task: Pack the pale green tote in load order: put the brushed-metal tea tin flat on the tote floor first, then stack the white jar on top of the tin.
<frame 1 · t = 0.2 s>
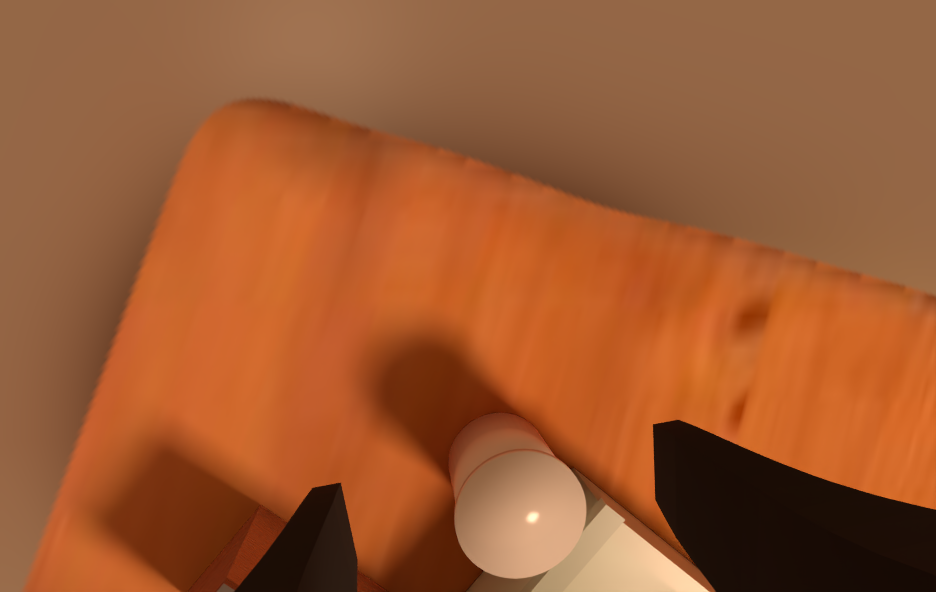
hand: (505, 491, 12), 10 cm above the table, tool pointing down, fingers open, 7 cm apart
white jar: (497, 460, 23), on the table
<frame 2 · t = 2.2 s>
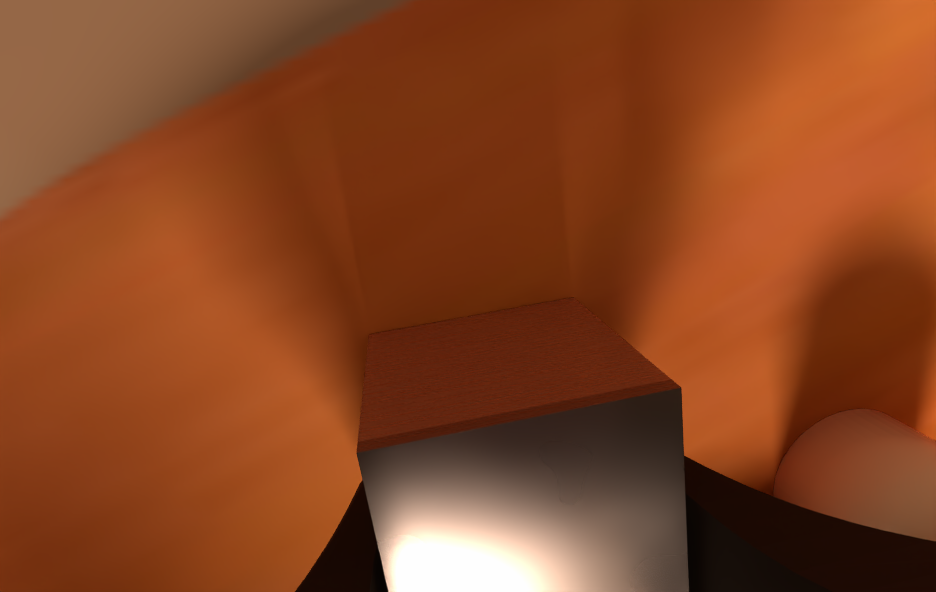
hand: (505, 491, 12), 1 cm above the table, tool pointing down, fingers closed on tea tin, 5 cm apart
tea tin: (494, 456, 14), on the table, touching gripper
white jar: (842, 476, 16), on the table
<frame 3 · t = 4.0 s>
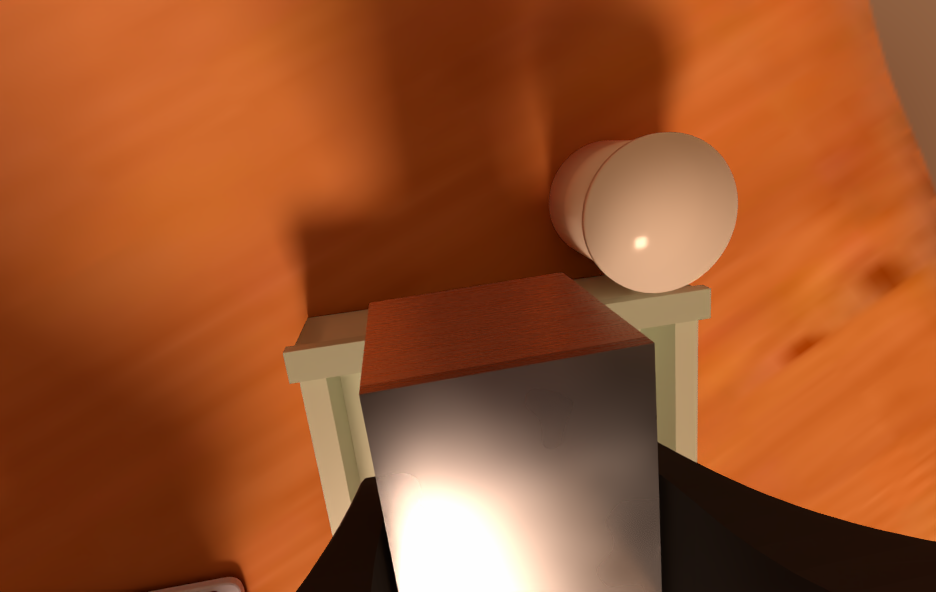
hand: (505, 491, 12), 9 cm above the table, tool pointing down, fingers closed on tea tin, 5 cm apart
tote: (501, 435, 22), on the table
tea tin: (485, 422, 15), point 6 cm above the table, touching gripper
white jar: (604, 200, 20), on the table
when the fingers open (3 cm above the table, at t = 5.9 s): tea tin stays where it is, resting on tote.
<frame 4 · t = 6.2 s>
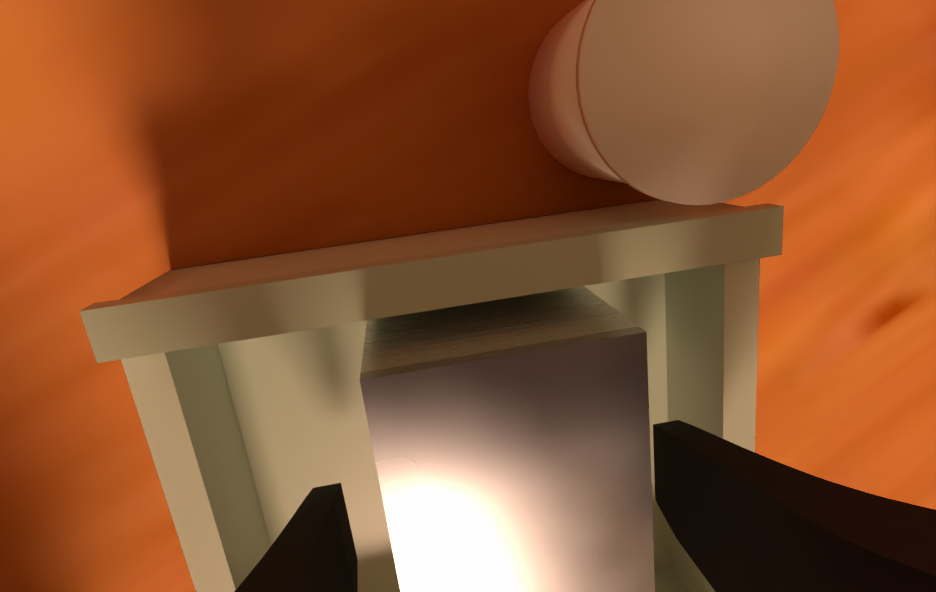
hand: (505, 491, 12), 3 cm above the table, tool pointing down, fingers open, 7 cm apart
tote: (467, 441, 16), on the table
tea tin: (483, 415, 15), resting on tote
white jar: (611, 91, 14), on the table
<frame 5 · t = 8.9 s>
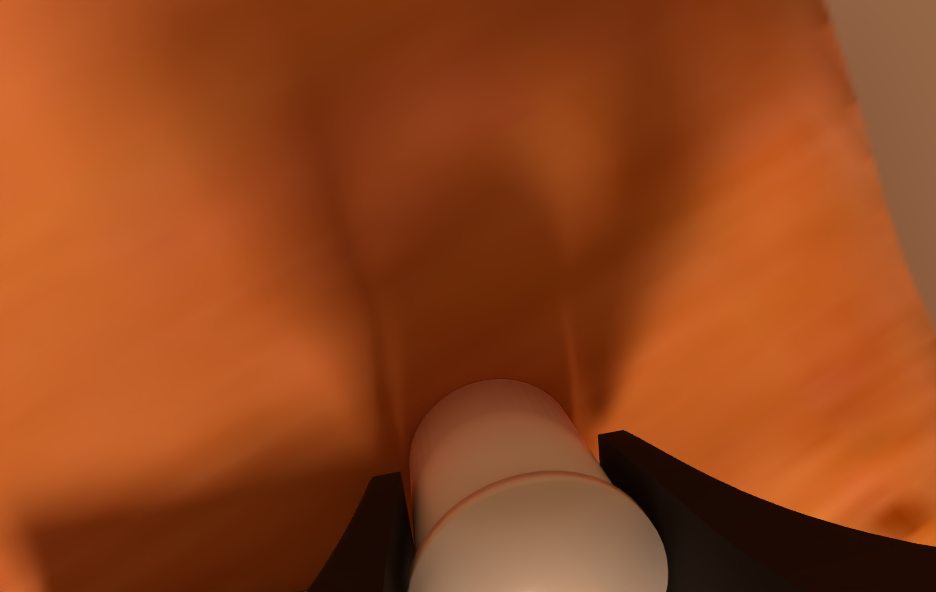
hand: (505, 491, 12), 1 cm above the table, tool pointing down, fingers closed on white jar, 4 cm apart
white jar: (493, 456, 14), on the table, touching gripper
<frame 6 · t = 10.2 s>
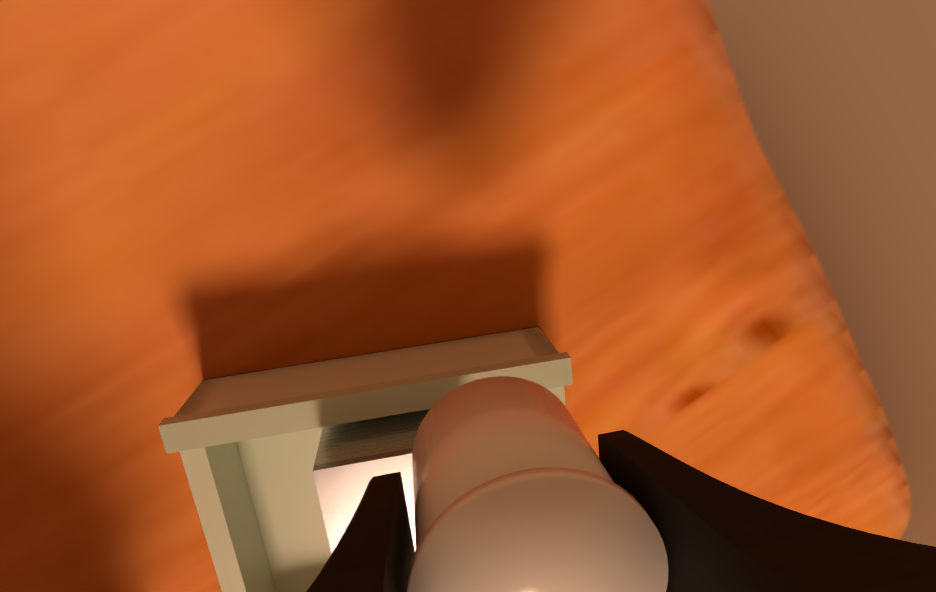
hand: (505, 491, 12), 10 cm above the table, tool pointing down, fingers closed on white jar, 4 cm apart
tote: (398, 485, 23), on the table
tea tin: (407, 469, 22), resting on tote
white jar: (496, 453, 14), point 8 cm above the table, touching gripper
when the fingers open (8 cm above the table, at t = 11.5 s): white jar stays where it is, resting on tea tin.
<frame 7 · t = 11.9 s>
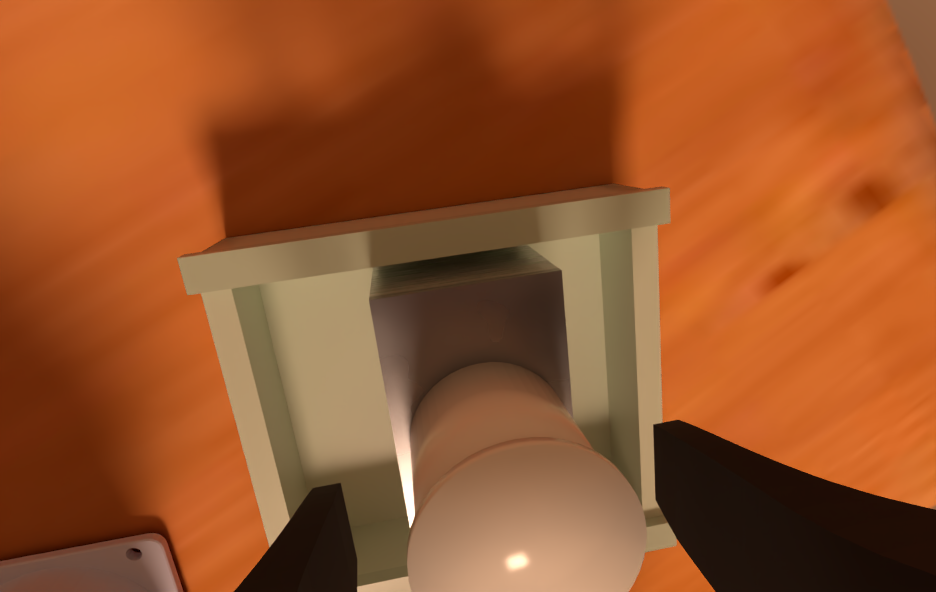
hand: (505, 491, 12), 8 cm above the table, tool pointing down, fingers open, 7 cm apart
tote: (449, 374, 20), on the table
tea tin: (460, 352, 19), resting on tote, touching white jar
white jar: (489, 435, 15), point 6 cm above the table, touching tea tin
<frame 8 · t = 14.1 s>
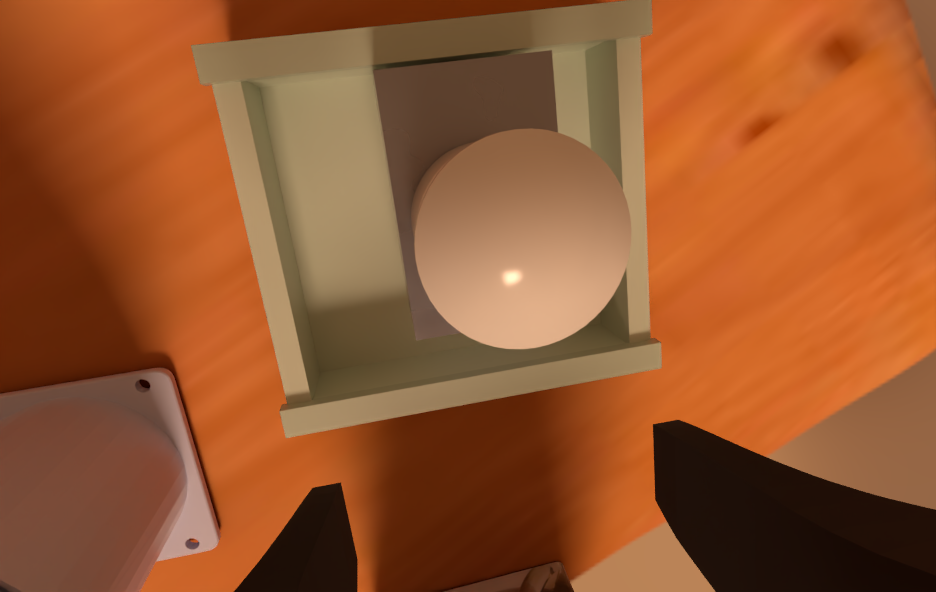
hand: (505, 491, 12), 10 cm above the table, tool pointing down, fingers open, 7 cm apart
tote: (446, 215, 21), on the table
tea tin: (456, 189, 20), resting on tote, touching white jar
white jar: (485, 217, 16), point 6 cm above the table, touching tea tin
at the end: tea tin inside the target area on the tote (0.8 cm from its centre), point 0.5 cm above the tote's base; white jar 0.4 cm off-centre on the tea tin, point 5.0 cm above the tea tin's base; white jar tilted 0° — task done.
